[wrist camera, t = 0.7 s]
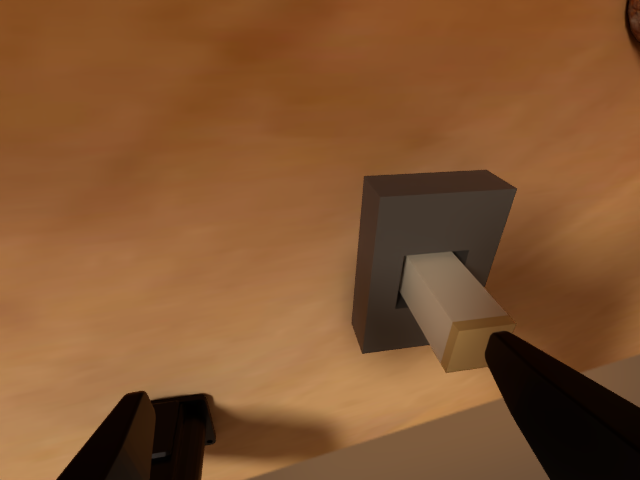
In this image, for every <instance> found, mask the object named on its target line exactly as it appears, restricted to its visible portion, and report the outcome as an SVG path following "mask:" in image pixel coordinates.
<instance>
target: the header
mask: <svg viewBox="0 0 640 480" xmlns="http://www.w3.org/2000/svg"><path fill="white" fill-rule="evenodd" d="M516 191H517V188H515V187H514V186H512V185H510V184H509V183H507V182H505V181H504V180H502V179H501V178H499V177H497V176H496V175H494V174H492V173H491V172H489V171H487V170H475V171H456V172H436V173H417V174H398V175H378V176H364V184H363V196H362V207H361V219H360V231H359V243H358V254H357V266H356V278H355V289H354V301H353V313H352V326H353V329H354V331H355V334H356V337H357V340H358V343H359V346H360V349H361V352H362V354H364V353H372V352H379V351H387V350H394V349H402V348H409V347H417V346H424V345H430V344H429V342H428V341H427V339H426V337H425V335H424V333H423V332H422V330H421V328H420V326H419V325H418V323H417V321H416V319H415V318H414V316H413V314H412V312H411V311H410V309H409V307H408V305H407V304H406V302H405V300H404V298H403V297H402V295H401V293H400V291H399V290H398V289H399V283H400V277H401V271H402V265H403V259H404V256H407V255H418V254H429V253H440V252H451V251H452V253H453V254H454V255H455V256H456V257H457V258H458V259H459V260H460V261H461V263H462V264H463V265H464V266H465V267H466V268H467V269H468V270H469V272H470V273H471V274H472V275H473V276H474V277H475V278H476V279H477V280H478V282H479V283H480V284H481V285H482V286H483V287H485V284H486V281H487V278H488V275H489V272H490V269H491V266H492V263H493V260H494V257H495V254H496V251H497V248H498V245H499V242H500V239H501V236H502V233H503V230H504V227H505V224H506V221H507V218H508V215H509V212H510V209H511V206H512V203H513V200H514V197H515V194H516Z"/></svg>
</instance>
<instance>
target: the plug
mask: <svg viewBox="0 0 640 480" xmlns="http://www.w3.org/2000/svg"><path fill="white" fill-rule="evenodd" d="M398 290H399V291H400V293H401V295H402V297H403V298H404V300H405V302H406V304H407V305H408V307H409V309H410V311H411V312H412V314H413V316H414V318H415V319H416V321H417V323H418V325H419V326H420V328H421V330H422V332H423V333H424V335H425V337H426V339H427V341H428V342H429V344H430V346H431V348H432V349H433V351H434V353H435V355H436V356H437V358H438V360H439V362H440V363H441V365H442V367H443V369H444V370H445V372H446V373H450V372H456V371H463V370H470V369H477V368H483V367H488V365H487V363H486V360H485V350H486V346H487V343H488V340H489V337H490V335H491V334H492V333H493V332H499V331H508V332H510V333H513V330H514V328H515V326H516V323H515V322H514V321H513V319H512V318H511V317H510V316H509V315H508V314H507V313H506V312H505V311H504V309H503V308H502V307H501V306H500V305H499V304H498V303H497V302H496V301H495V299H494V298H493V297H492V296H491V295H490V294H489V293H488V292H487V290H486V289H485V288H484V287H483V286H482V285H481V284H480V283H479V282H478V280H477V279H476V278H475V277H474V276H473V275H472V274H471V273H470V272H469V270H468V269H467V268H466V267H465V266H464V265H463V264H462V263H461V261H460V260H459V259H458V258H457V257H456V256H455V255H454V254H453V253H452V251H451V252H440V253H429V254H418V255H407V256H404V259H403V265H402V271H401V277H400V283H399V289H398Z"/></svg>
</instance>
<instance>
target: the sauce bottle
mask: <svg viewBox="0 0 640 480" xmlns="http://www.w3.org/2000/svg"><path fill="white" fill-rule="evenodd" d="M628 8H629V10H628V16H629V22H630V29H631V32H632V34H633V35H634V36H635V38H636V40H637V41H639V42H640V0H629V6H628Z"/></svg>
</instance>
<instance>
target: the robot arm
mask: <svg viewBox="0 0 640 480" xmlns="http://www.w3.org/2000/svg"><path fill="white" fill-rule="evenodd" d="M485 360H486V363H487V365H488V367H489V369H490V371H491V373H492V375H493V377H494V380H495V382H496V384H497V386H498V388H499V390H500V392H501V394H502V396H503V398H504V401H505V403H506V405H507V407H508V409H509V411H510V413H511V415H512V416H513V418H514V420H515V422H516V423H517V425H518V427H519V428H520V430H521V432H522V433H523V435H524V437H525V438H526V440H527V442H528V443H529V445H530V447H531V449H532V450H533V452H534V453H535V455H536V457H537V459H538V460H539V462H540V463H541V465H542V467H543V469H544V470H545V472H546V473H547V475H548V477H549V478H550V480H640V408H639V407H638V406H636V405H634V404H633V403H630V402H629V401H627V400H626V399H624V398H622V397H620V396H619V395H617V394H615V393H614V392H612V391H610V390H608V389H607V388H605V387H603V386H602V385H600V384H598V383H596V382H594V381H593V380H591V379H589V378H588V377H586V376H584V375H583V374H581V373H579V372H577V371H576V370H574V369H572V368H571V367H569V366H567V365H565V364H564V363H562V362H560V361H559V360H557V359H555V358H553V357H552V356H550V355H548V354H546V353H545V352H543V351H541V350H540V349H538V348H536V347H534V346H533V345H531V344H529V343H528V342H526V341H524V340H522V339H521V338H519V337H517V336H515V335H514V334H512V333H510V332H508V331H499V332H493V333H492V334H491V335H490V337H489V340H488V343H487V346H486V350H485ZM215 442H216V434H215V430H214V426H213V422H212V418H211V414H210V410H209V406H208V402H207V398H206V396H204V395H196V396H189V397H182V398H175V399H167V400H160V401H153V402H150V399H149V397H148V395H147V393H146V392H145V391H138V392H132V393H128V394H126V395H125V396H124V397H123V398H122V399H121V400H120V401H119V403H118V404H117V405H116V406H115V408H114V409H113V410H112V411H111V413H110V414H109V415H108V416H107V417H106V419H105V420H104V421H103V422H102V424H101V425H100V426H99V427H98V429H97V430H96V431H95V432H94V434H93V435H92V436H91V437H90V438H89V440H88V441H87V442H86V443H85V445H84V446H83V447H82V448H81V450H80V451H79V452H78V453H77V455H76V456H75V457H74V458H73V459H72V461H71V462H70V463H69V464H68V466H67V467H66V468H65V469H64V471H63V472H62V473H61V474H60V476H59V477H58V478H57V479H56V480H201V477H202V467H203V457H204V447H205V445H211V444H214V443H215Z"/></svg>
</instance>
